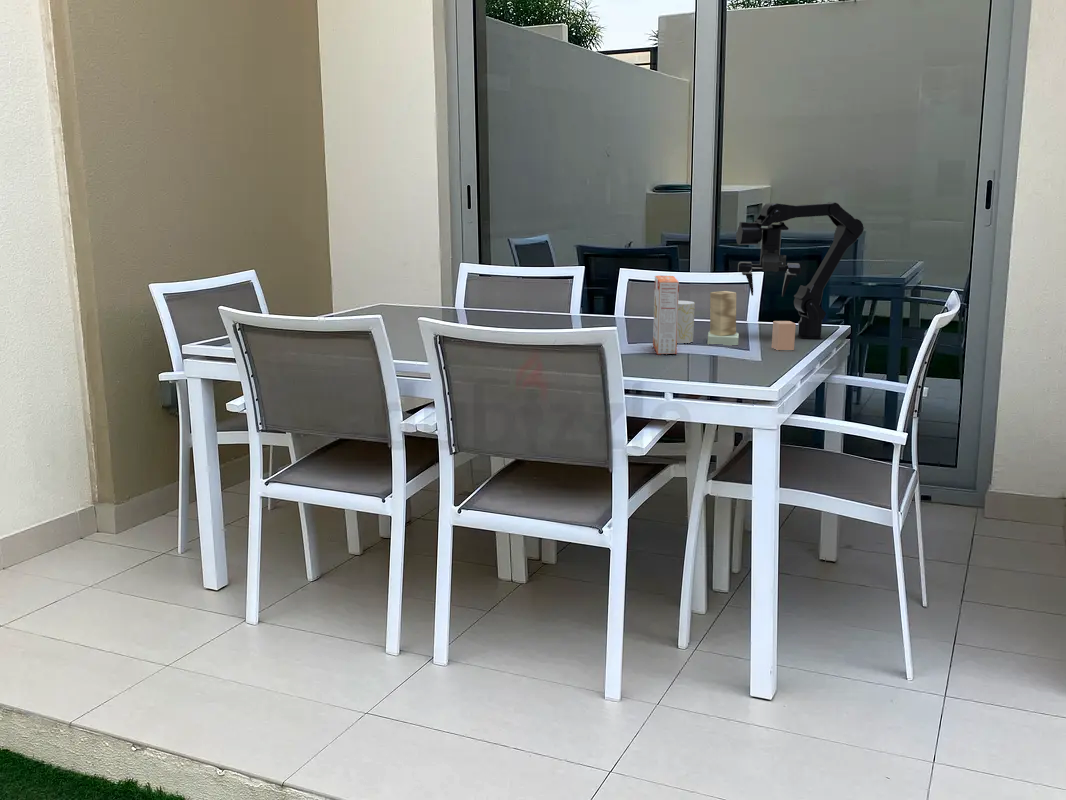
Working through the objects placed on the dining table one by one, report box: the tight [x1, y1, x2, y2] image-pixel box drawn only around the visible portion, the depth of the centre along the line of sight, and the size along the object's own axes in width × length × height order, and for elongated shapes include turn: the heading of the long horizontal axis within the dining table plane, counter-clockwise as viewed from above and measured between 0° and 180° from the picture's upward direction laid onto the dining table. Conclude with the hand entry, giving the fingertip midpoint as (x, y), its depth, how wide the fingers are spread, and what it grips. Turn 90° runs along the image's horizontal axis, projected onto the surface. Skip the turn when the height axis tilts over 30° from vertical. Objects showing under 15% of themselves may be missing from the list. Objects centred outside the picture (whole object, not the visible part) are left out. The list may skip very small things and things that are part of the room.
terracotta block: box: [771, 320, 796, 351], centre depth 300 cm, size 5×5×8 cm
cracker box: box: [652, 275, 680, 356], centre depth 294 cm, size 14×6×21 cm, turn 178°
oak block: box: [709, 290, 737, 336], centre depth 310 cm, size 6×6×12 cm
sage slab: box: [707, 331, 740, 346], centre depth 311 cm, size 9×9×3 cm
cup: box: [677, 300, 696, 343], centre depth 310 cm, size 8×8×12 cm
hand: (767, 295), depth 318 cm, fingers open, 9 cm apart
